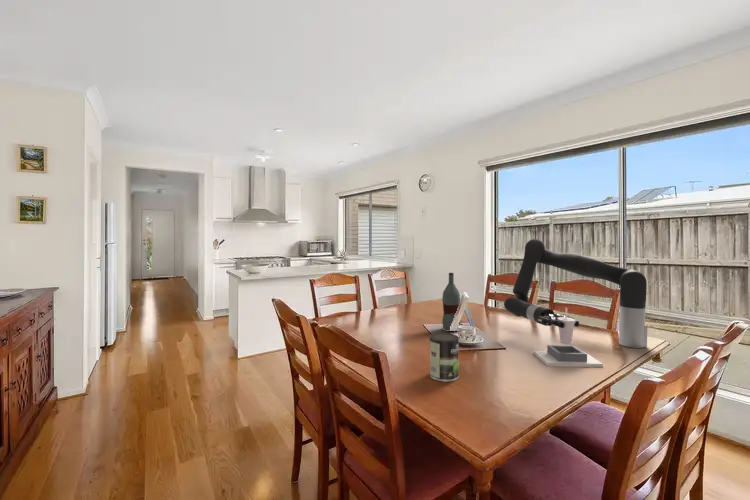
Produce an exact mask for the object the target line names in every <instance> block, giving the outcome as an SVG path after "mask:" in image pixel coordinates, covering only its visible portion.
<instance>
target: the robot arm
mask: <svg viewBox="0 0 750 500" xmlns="http://www.w3.org/2000/svg"><path fill="white" fill-rule="evenodd" d="M523 255H524V256H523V259H522V263H521V267H520V270H519V271H518V275H517V277H516V280H515V283H514V286H513V288H512V293H513V295H514V296H515V297H513V296H511V297H507V298H506V299H505V300H504V302H503V307H504V309H505V310H506V311H508V312H509V313H511V314H512V315H514V316H516V317H523V318H524V319H527V320H530V321H532V322H533V323H536V324H540V325H542V326H545V327H551V326H553V327H558V328H559V327H561V328H564V327H565V323H564V322H562V321H558V320H557V318H558V317H565V313H564V314H559V313H555V312H554V310H553V309H552V308H549V307H546V306H543V305H538V304H534V303H530V302H529V293H530V290H531V287H532V283H533V279H534V275H535V271H536V270H535V269H536V266H537V264H542V265H548V266H552V267H555V268H556V269H561V270H564V271H566V272H570V273H572V274H575V275H578V276H583V277H586V278H592V279H598V280H603V281H607V282H610V283H613V284H615V285H618V286H619V315H618V316H619V317H618V319H619V323H618V325H619V326H618V327H619V328H618V344H619V345H620V346H624V347H627V348H635V349H643V348H648V325H647V324H646V304H647V284H648V283H647V278H646V276H645V275H644V274H643V273H642V272H640V271H639V270H636V269H632V268H631V269H630V268H623V267H620V266H615V265H611V264H609V263H606V262H604V261H600V260H598V259H595V258H593V257H589V256H587V255H582V254H579V253H575V252H572V253H571V252H569V253H567V252H566V253H563V252H554V251H552V250H550V249H549V250H548V249H546V246H545V243H544V241H542V240H541V239H539V238H532V239H530V240H528V241H527V242H526V244H525V246H524V254H523ZM567 317H569V318H573V319H575V317H574V316H571V315H569V314H567ZM575 322H576V323H574V327H580V321H579V320H576V319H575Z"/></svg>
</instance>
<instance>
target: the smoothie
mask: <svg viewBox="0 0 750 500" xmlns="http://www.w3.org/2000/svg"><path fill="white" fill-rule="evenodd" d="M564 314H565V317H558V318H557V320H558V321H562V322H564V323H565V327H564V328H561V327H558V331H559V332H558V333H559V341H560V342H559V343H561V344H562V345H572V340H573V336H574V335H573V333H574V330H575V326H574V323H576V322H575V320H576V319H575V318H574V319H573V318H569V317H567V315H568V307H565V313H564Z"/></svg>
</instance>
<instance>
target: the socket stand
mask: <svg viewBox="0 0 750 500" xmlns="http://www.w3.org/2000/svg"><path fill="white" fill-rule="evenodd" d="M546 347H547V350H533V354H534V356H536V357H537V358H538V359H539V360H540V361H542V363H544V364H545V365H546V366H547V367H578V368H579V367H580V368H583V367H584V368H585V367H586V368H588V367H591V368H603V367H604V363H602V362H601V361H599V360H598V359H596V358H595V357H593V356H591V355H590V354H588V353H586V352H585V351H584V350H582V349H580V348H578V347H577V346H576V345H572V344H570V345H566V344H562V345H559V344H547V346H546Z"/></svg>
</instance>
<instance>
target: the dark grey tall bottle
mask: <svg viewBox="0 0 750 500" xmlns="http://www.w3.org/2000/svg"><path fill="white" fill-rule="evenodd" d="M454 277H455V275H454V272H448V284H447V285H446V287H445V288H444V290H443V291H442V307H443V308H442V309H443V310H442V311H443V315H442V329H443V328H444V329H445V330H450V326H451V323H452V321H453V318H454V315H455V313H456V311H457V308H458V306H459V304H460V303H461V294H460V291H459V289H458V287H456V284H455V283H454V282H455V281H454V279H455V278H454ZM459 307H460V306H459ZM459 325H460V326H461V321H460V322H459ZM444 329H443V330H444Z"/></svg>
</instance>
